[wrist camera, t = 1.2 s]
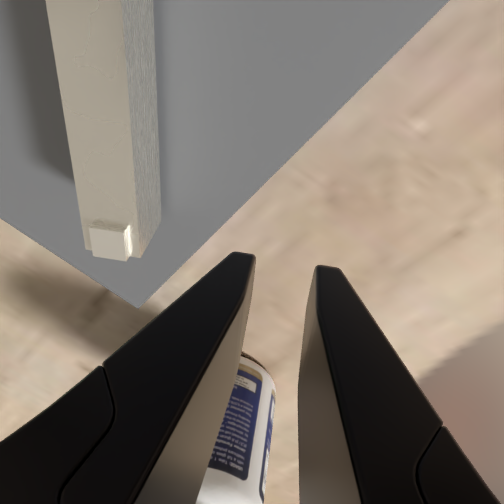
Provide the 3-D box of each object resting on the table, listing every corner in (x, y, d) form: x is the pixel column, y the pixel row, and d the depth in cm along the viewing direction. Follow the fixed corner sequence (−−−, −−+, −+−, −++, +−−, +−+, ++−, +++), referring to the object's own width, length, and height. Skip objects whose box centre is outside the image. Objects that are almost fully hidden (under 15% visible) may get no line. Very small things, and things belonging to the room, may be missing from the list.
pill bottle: (163, 365, 26) (90, 559, 18) (241, 337, 24) (195, 543, 16) (219, 419, 28) (175, 612, 20) (294, 398, 26) (278, 605, 18)
